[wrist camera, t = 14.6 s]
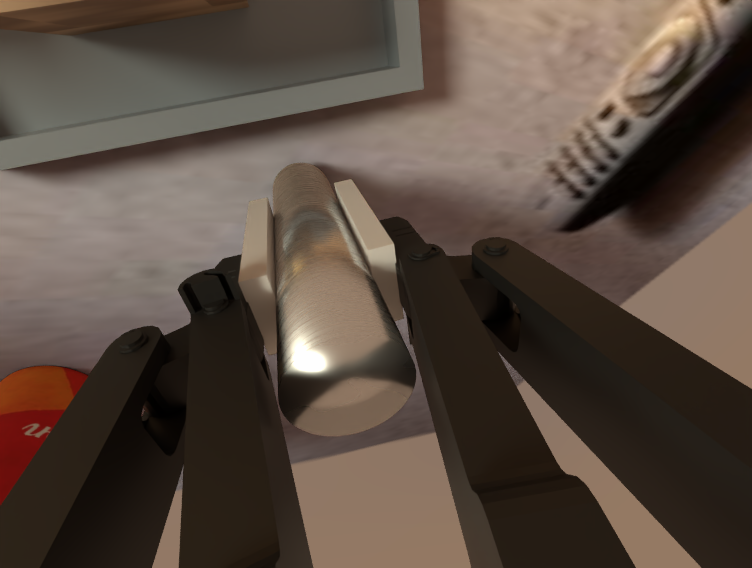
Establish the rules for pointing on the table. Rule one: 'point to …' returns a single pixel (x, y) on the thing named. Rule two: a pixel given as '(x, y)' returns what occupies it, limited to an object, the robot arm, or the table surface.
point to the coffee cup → (31, 415)
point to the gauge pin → (330, 316)
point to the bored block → (101, 13)
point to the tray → (199, 73)
